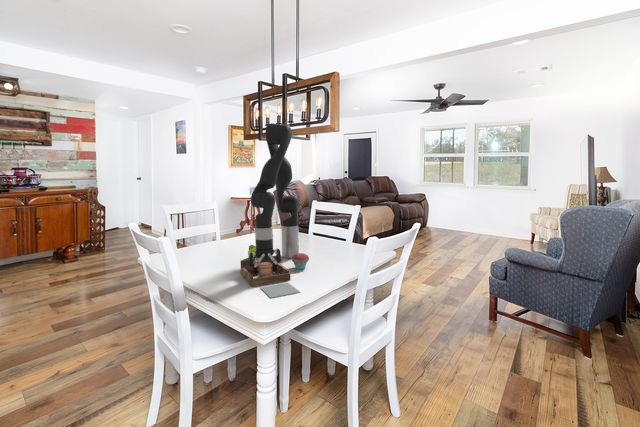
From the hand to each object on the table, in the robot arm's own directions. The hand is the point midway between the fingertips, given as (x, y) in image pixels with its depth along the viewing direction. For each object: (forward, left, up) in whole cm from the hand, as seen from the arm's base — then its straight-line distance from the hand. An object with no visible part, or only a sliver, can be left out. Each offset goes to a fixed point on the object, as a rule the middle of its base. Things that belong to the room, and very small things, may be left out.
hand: (265, 273), depth 148 cm
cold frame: (0, 0, -2) cm, 2 cm away
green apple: (-16, +1, -2) cm, 16 cm away
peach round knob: (0, 0, -2) cm, 2 cm away
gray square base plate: (+18, 0, -2) cm, 18 cm away
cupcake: (-6, +20, -2) cm, 21 cm away
